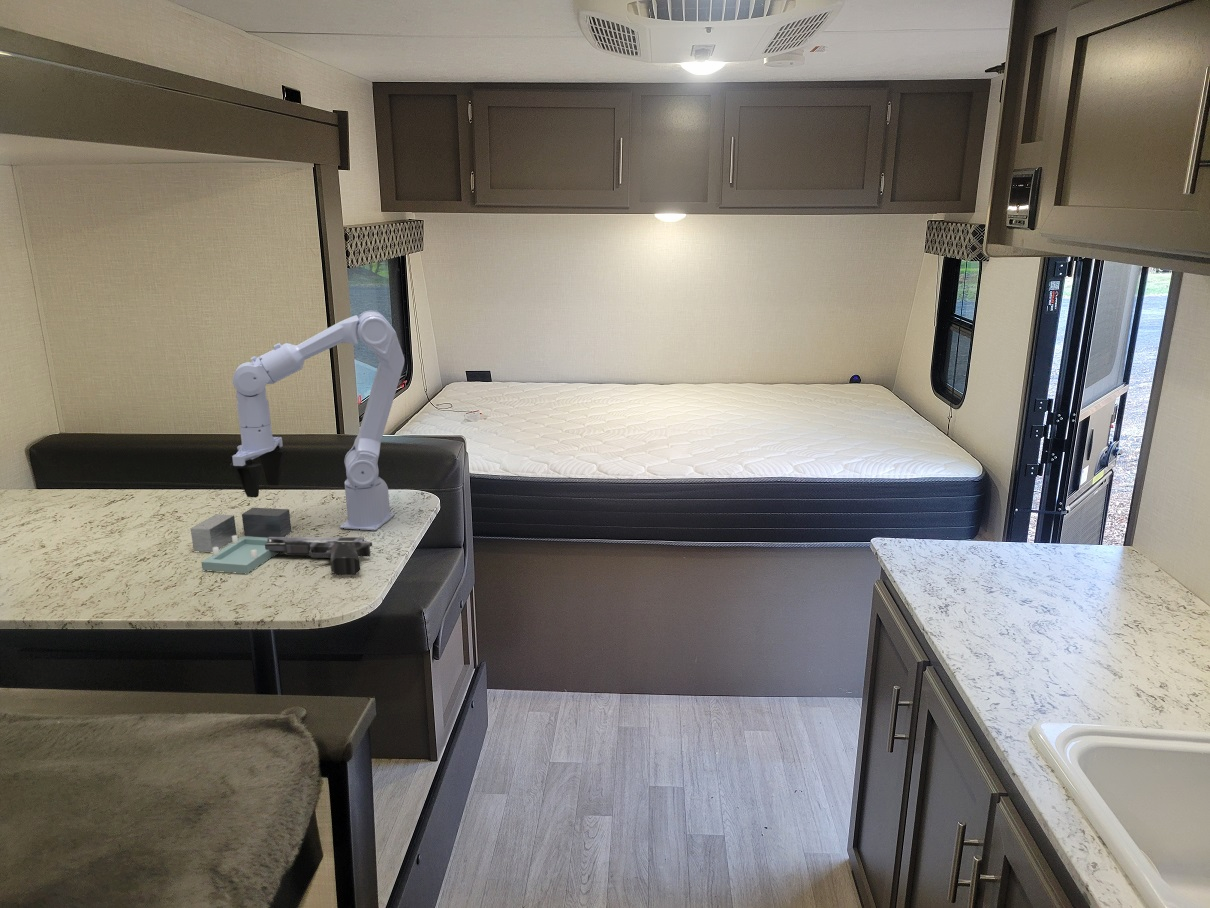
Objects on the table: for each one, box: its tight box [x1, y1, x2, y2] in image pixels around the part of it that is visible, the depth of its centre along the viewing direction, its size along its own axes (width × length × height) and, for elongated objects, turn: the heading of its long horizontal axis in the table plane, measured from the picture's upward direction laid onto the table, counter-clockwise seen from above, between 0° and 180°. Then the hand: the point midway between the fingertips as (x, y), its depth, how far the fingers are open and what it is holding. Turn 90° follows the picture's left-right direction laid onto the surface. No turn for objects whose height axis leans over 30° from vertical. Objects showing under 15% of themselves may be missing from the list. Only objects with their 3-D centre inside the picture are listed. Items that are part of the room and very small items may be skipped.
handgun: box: [265, 536, 373, 576], centre depth 155 cm, size 3×21×12 cm
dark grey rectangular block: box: [241, 507, 292, 538], centre depth 170 cm, size 8×4×5 cm, turn 81°
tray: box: [201, 534, 277, 575], centre depth 158 cm, size 13×9×3 cm
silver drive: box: [190, 513, 238, 553], centre depth 165 cm, size 8×4×5 cm, turn 170°
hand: (263, 490), depth 168 cm, fingers open, 7 cm apart
